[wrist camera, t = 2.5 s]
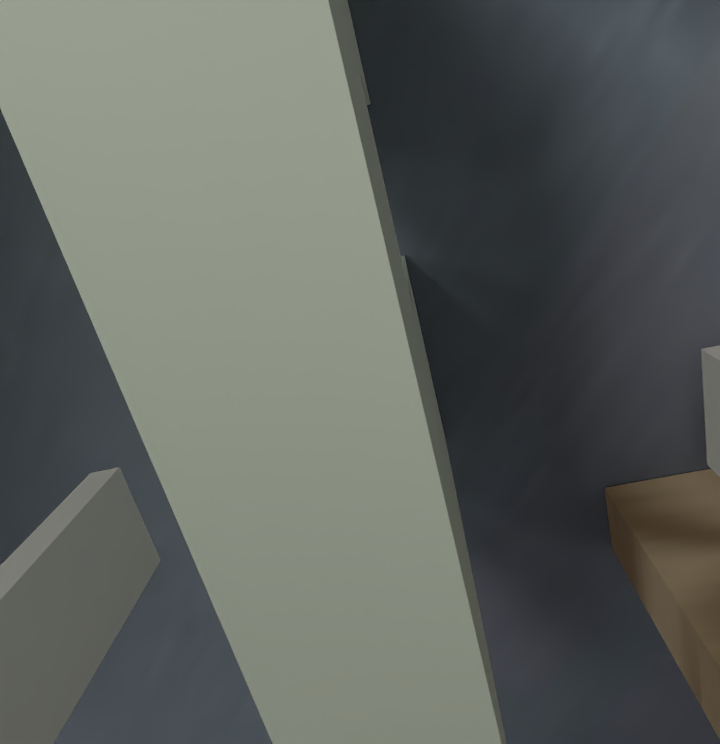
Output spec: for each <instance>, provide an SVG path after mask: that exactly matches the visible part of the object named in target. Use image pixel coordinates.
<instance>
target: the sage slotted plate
mask: <svg viewBox="0 0 720 744" xmlns="http://www.w3.org/2000/svg"><path fill="white" fill-rule="evenodd" d="M370 104H371V103H370V99H369V94H368V90H367V85H366V81H365V76H364V72H363V67H362V63H361V59H360V54H359V50H358V45H357V41H356V36H355V32H354V27H353V23H352V18H351V14H350V9H349V5H348V0H0V109H1V111H2V114H3V116H4V118H5V121H6V123H7V125H8V128H9V130H10V132H11V135H12V137H13V139H14V142H15V144H16V146H17V149H18V151H19V153H20V156H21V158H22V160H23V163H24V165H25V167H26V170H27V172H28V174H29V177H30V179H31V181H32V184H33V186H34V188H35V191H36V193H37V195H38V198H39V200H40V202H41V205H42V207H43V209H44V212H45V214H46V216H47V219H48V221H49V223H50V226H51V228H52V230H53V233H54V235H55V237H56V240H57V242H58V244H59V247H60V249H61V251H62V254H63V256H64V258H65V261H66V263H67V265H68V268H69V270H70V272H71V275H72V277H73V279H74V282H75V284H76V286H77V289H78V291H79V293H80V296H81V298H82V300H83V303H84V305H85V307H86V310H87V312H88V314H89V317H90V319H91V321H92V324H93V326H94V328H95V331H96V333H97V335H98V338H99V340H100V342H101V345H102V347H103V349H104V352H105V354H106V356H107V359H108V361H109V363H110V366H111V368H112V370H113V373H114V375H115V377H116V380H117V382H118V384H119V387H120V389H121V391H122V394H123V396H124V398H125V401H126V403H127V405H128V408H129V410H130V412H131V415H132V417H133V419H134V422H135V424H136V426H137V429H138V431H139V433H140V436H141V438H142V440H143V443H144V445H145V447H146V450H147V452H148V454H149V457H150V459H151V461H152V464H153V466H154V468H155V471H156V473H157V475H158V478H159V480H160V482H161V485H162V487H163V489H164V492H165V494H166V496H167V499H168V501H169V503H170V506H171V508H172V510H173V513H174V515H175V517H176V520H177V522H178V524H179V527H180V529H181V531H182V534H183V536H184V538H185V541H186V543H187V545H188V548H189V550H190V552H191V555H192V557H193V559H194V562H195V564H196V566H197V569H198V571H199V573H200V576H201V578H202V580H203V583H204V585H205V587H206V590H207V592H208V594H209V597H210V599H211V601H212V604H213V606H214V608H215V611H216V613H217V615H218V618H219V620H220V622H221V625H222V627H223V629H224V632H225V634H226V636H227V639H228V641H229V643H230V646H231V648H232V650H233V653H234V655H235V657H236V660H237V662H238V664H239V667H240V669H241V671H242V674H243V676H244V678H245V681H246V683H247V685H248V688H249V690H250V692H251V695H252V697H253V699H254V702H255V704H256V706H257V709H258V711H259V713H260V716H261V718H262V720H263V723H264V725H265V727H266V730H267V732H268V734H269V737H270V739H271V741H272V744H507V743H506V738H505V733H504V728H503V723H502V718H501V713H500V708H499V703H498V698H497V693H496V688H495V683H494V678H493V673H492V668H491V663H490V658H489V653H488V648H487V643H486V638H485V633H484V628H483V623H482V618H481V613H480V608H479V603H478V598H477V594H476V589H475V584H474V579H473V574H472V569H471V564H470V559H469V554H468V549H467V544H466V539H465V534H464V529H463V524H462V519H461V514H460V509H459V504H458V499H457V494H456V489H455V484H454V479H453V474H452V469H451V464H450V459H449V454H448V449H447V444H446V439H445V435H444V430H443V426H442V421H441V417H440V412H439V408H438V404H437V399H436V395H435V390H434V386H433V381H432V377H431V372H430V368H429V363H428V359H427V354H426V350H425V345H424V341H423V336H422V332H421V327H420V323H419V318H418V314H417V309H416V305H415V300H414V296H413V292H412V287H411V283H410V278H409V274H408V269H407V265H406V260H405V256H401V255H400V250H399V246H398V241H397V237H396V233H395V228H394V224H393V219H392V215H391V210H390V206H389V201H388V197H387V193H386V188H385V184H384V179H383V175H382V170H381V166H380V162H379V157H378V153H377V148H376V144H375V139H374V135H373V130H372V126H371V122H370V117H369V113H368V108H367V105H370Z"/></svg>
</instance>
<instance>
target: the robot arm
mask: <svg viewBox="0 0 720 744" xmlns="http://www.w3.org/2000/svg"><path fill="white" fill-rule="evenodd" d="M701 356H702V375H703V394H704V413H705V432H706V451H707V465H708V466H709V467H710V468H711V469H712V470H713V471H714V472H715V473H716V474H717V475H718V476H719V477H720V345H718V346H714V347H709V348H704V349H701ZM160 562H161V559H160V557H159V555H158V553H157V550H156V548H155V546H154V544H153V541H152V539H151V537H150V535H149V532H148V530H147V528H146V526H145V523H144V521H143V519H142V517H141V514H140V512H139V510H138V508H137V505H136V503H135V501H134V499H133V496H132V494H131V492H130V490H129V487H128V485H127V483H126V481H125V478H124V476H123V474H122V472H121V469H120V467H118V468H113V469H108V470H103V471H98V472H93V473H90V474H89V475H88V476H87V477H86V478H85V479H84V480H83V481H82V482H81V483H80V484H79V485H78V486H77V487H76V488H75V489H74V490H73V491H72V493H71V494H70V495H69V496H68V497H67V498H66V499H65V500H64V501H63V502H62V503H61V504H60V505H59V506H58V507H57V508H56V509H55V510H54V511H53V512H52V513H51V514H50V515H49V516H48V517H47V518H46V519H45V520H44V521H43V522H42V523H41V524H40V525H39V526H38V527H37V528H36V529H35V531H34V532H33V533H32V534H31V535H30V536H29V537H28V538H27V539H26V540H25V541H24V542H23V543H22V544H21V545H20V546H19V547H18V548H17V549H16V550H15V551H14V552H13V553H12V554H11V555H10V556H9V557H8V558H7V559H6V560H5V561H4V562H3V563H2V564H1V565H0V744H54V742H55V741H56V739H57V737H58V736H59V734H60V732H61V730H62V729H63V727H64V725H65V724H66V722H67V720H68V718H69V717H70V715H71V713H72V712H73V710H74V708H75V707H76V705H77V703H78V701H79V700H80V698H81V696H82V695H83V693H84V691H85V689H86V688H87V686H88V684H89V683H90V681H91V679H92V678H93V676H94V674H95V672H96V671H97V669H98V667H99V666H100V664H101V662H102V660H103V659H104V657H105V655H106V654H107V652H108V650H109V649H110V647H111V645H112V643H113V642H114V640H115V638H116V637H117V635H118V633H119V631H120V630H121V628H122V626H123V625H124V623H125V621H126V620H127V618H128V616H129V614H130V613H131V611H132V609H133V608H134V606H135V604H136V603H137V601H138V599H139V597H140V596H141V594H142V592H143V591H144V589H145V587H146V585H147V584H148V582H149V580H150V579H151V577H152V575H153V574H154V572H155V570H156V568H157V567H158V565H159V563H160Z"/></svg>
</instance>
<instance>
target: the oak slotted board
mask: <svg viewBox="0 0 720 744" xmlns="http://www.w3.org/2000/svg"><path fill="white" fill-rule="evenodd" d="M605 495H606V504H607V512H608V521H609V529H610V537H611V546H612V549H613V551H614V553H615V554H616V556H617V558H618V560H619V561H620V563H621V565H622V567H623V569H624V570H625V572H626V574H627V576H628V577H629V579H630V581H631V583H632V585H633V586H634V588H635V590H636V592H637V593H638V595H639V597H640V599H641V601H642V602H643V604H644V606H645V608H646V610H647V611H648V613H649V615H650V617H651V618H652V620H653V622H654V624H655V626H656V627H657V629H658V631H659V633H660V634H661V636H662V638H663V640H664V642H665V643H666V645H667V647H668V649H669V650H670V652H671V654H672V656H673V658H674V659H675V661H676V663H677V665H678V666H679V668H680V670H681V672H682V674H683V675H684V677H685V679H686V681H687V682H688V684H689V686H690V688H691V690H692V691H693V693H694V695H695V697H696V698H697V700H698V702H699V704H700V706H701V707H702V709H703V711H704V713H705V715H706V716H707V718H708V720H709V722H710V723H711V725H712V727H713V729H714V731H715V732H716V734H717V736H718V738H719V739H720V477H719V476H718V475H717V474H716V473H715V472H714V471H713V470H712V469H706V470H701V471H695V472H690V473H684V474H679V475H673V476H668V477H662V478H656V479H651V480H645V481H640V482H634V483H629V484H623V485H618V486H612V487H607V488H605Z"/></svg>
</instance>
